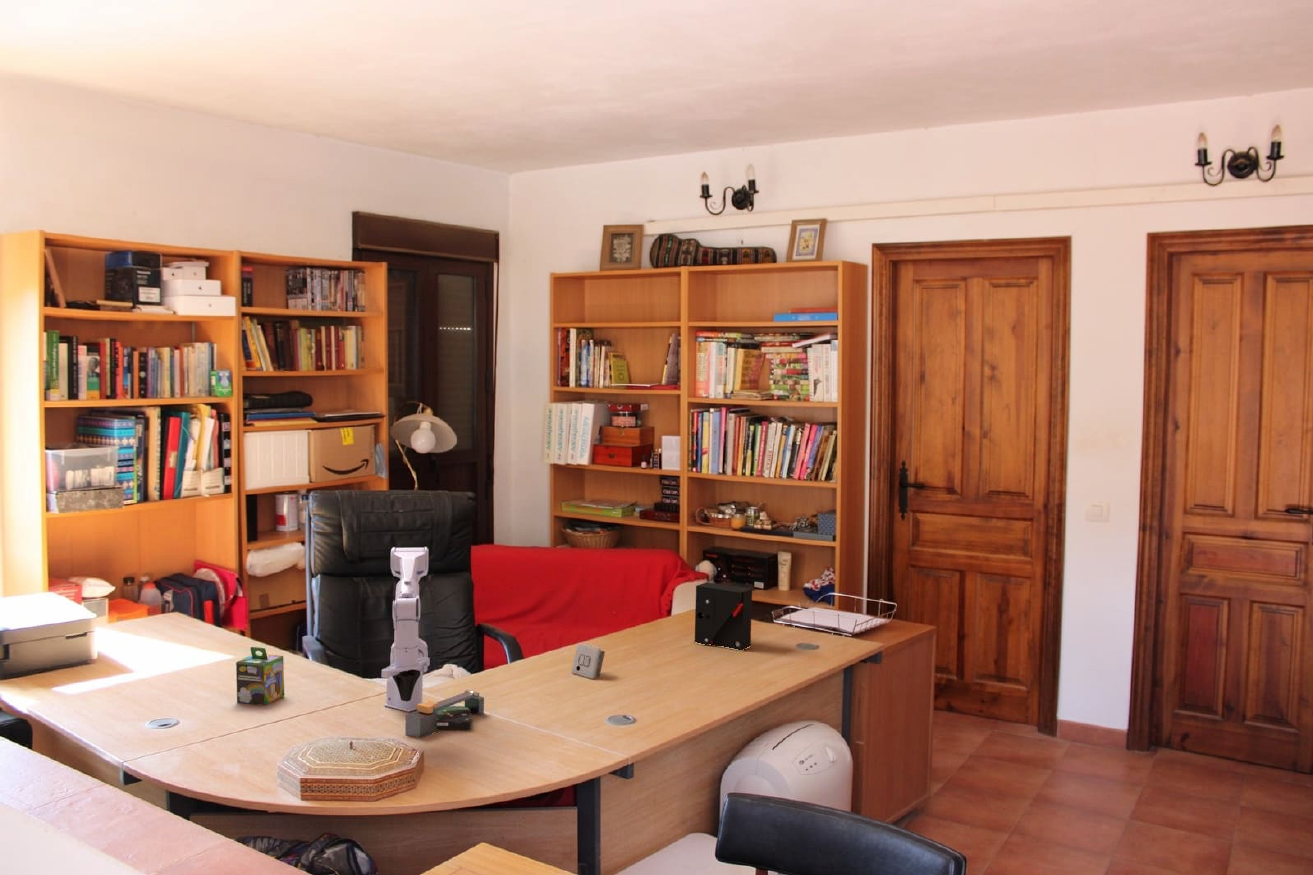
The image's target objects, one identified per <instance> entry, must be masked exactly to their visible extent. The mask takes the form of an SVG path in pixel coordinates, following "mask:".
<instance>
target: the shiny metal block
mask: <svg viewBox="0 0 1313 875" xmlns="http://www.w3.org/2000/svg"><path fill="white" fill-rule="evenodd" d="M464 706H466V707H468V708H469V707H470V708H471V715H476V716H480V715H484V714H485V697H484V696H480V695H479V697H478V698H476V697H473V698H470V699H468V700H465V701H464ZM404 727H405V736H409V737H412V738H416V737H418V738H417V739H419V738H421V739H423V738H425V736H426V737H428V736H430V734H431V735H433V734H435V733H434V732H436V733H438V730H437V713H436V712H433V713H429V714H428V713H424V712H420V711H417V710H416V711H413V712H409V713H408V714H406V715H405V726H404ZM432 733H433V734H432ZM427 735H428V736H427ZM422 737H423V738H422Z"/></svg>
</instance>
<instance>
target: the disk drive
mask: <svg viewBox="0 0 1313 875" xmlns="http://www.w3.org/2000/svg"><path fill="white" fill-rule="evenodd" d="M435 712H436V713H437V731H447V732H448V731H451V730H453V732H454V731H455V732H457V731H458V730H459V731H460V732H461V731H471V730H472V714H471V708H470V707H469V708H468V707H466V706H465V705H463V706H459V705H458V706H457V705H456V706H455V705H452V706H449V707H446V708H444V709H441V710H438V711H435Z"/></svg>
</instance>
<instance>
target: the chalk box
mask: <svg viewBox="0 0 1313 875" xmlns="http://www.w3.org/2000/svg"><path fill="white" fill-rule="evenodd" d="M256 652H260V653H261V654H260V653H256ZM250 653H251V655H250V656H247V657H244V658H243V659H242V658H241V659H240V660H238V661H236V662H235V665H236V666H235V668H236V669H235V670H236V702H237V703H244V704H249V705H250V704H251V705H255V706H256V705H257V706H263V707H264V706H267V705H269V704H270V703H273V702H274V701H276V700H278V699H280V698H282V697H284V696H285V672H284V670H285V668H284V667H285V665H284V655H279V654H268V653H267V650H266V648H264V647H258V646H251V647H250Z"/></svg>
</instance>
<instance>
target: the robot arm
mask: <svg viewBox="0 0 1313 875" xmlns="http://www.w3.org/2000/svg"><path fill="white" fill-rule="evenodd" d="M390 570H391V574H392V575H393V577H397V578H399V581H398V582H397V583H396V586H395V598H394V599H395V600H393V601H392V620H393V629H394V630H393V631H394V633H393V635H394V638H393V640H394V642H393V643H392V645H391V646H390V648H391V649H390V660H389V661H390V664H389V666H387V667H385V668H383V669H381V678H382V679H386V680H387V681H386V699H385V700H386V703H384V704H383V705H384V706H385V707H388V708H392V709H396V710H400V711H404V712H407V713H411V712H412V711H413V712H414V711H415V710H416V711H417V704H420V703H425V702H426V701H424V700H423V696H424V695H423V690H424V689H423V686H424V684H423V681H424V680H423V676H424V673H426V672H427V671H428V667H429V666H430V665H431V664H430V661H431V660H430V657H429V656H428V655H429V654H428V653H429V651H428V644H427V643H426V641H424V640H423V639H422V638H420V637H419V621H420V618H421V599H420V584H419V582H420V580H421V578H423V577H425V576H427V575H428V572H429V548H428V546H424V547H395V546H393V547H392V548H391V550H390Z"/></svg>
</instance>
